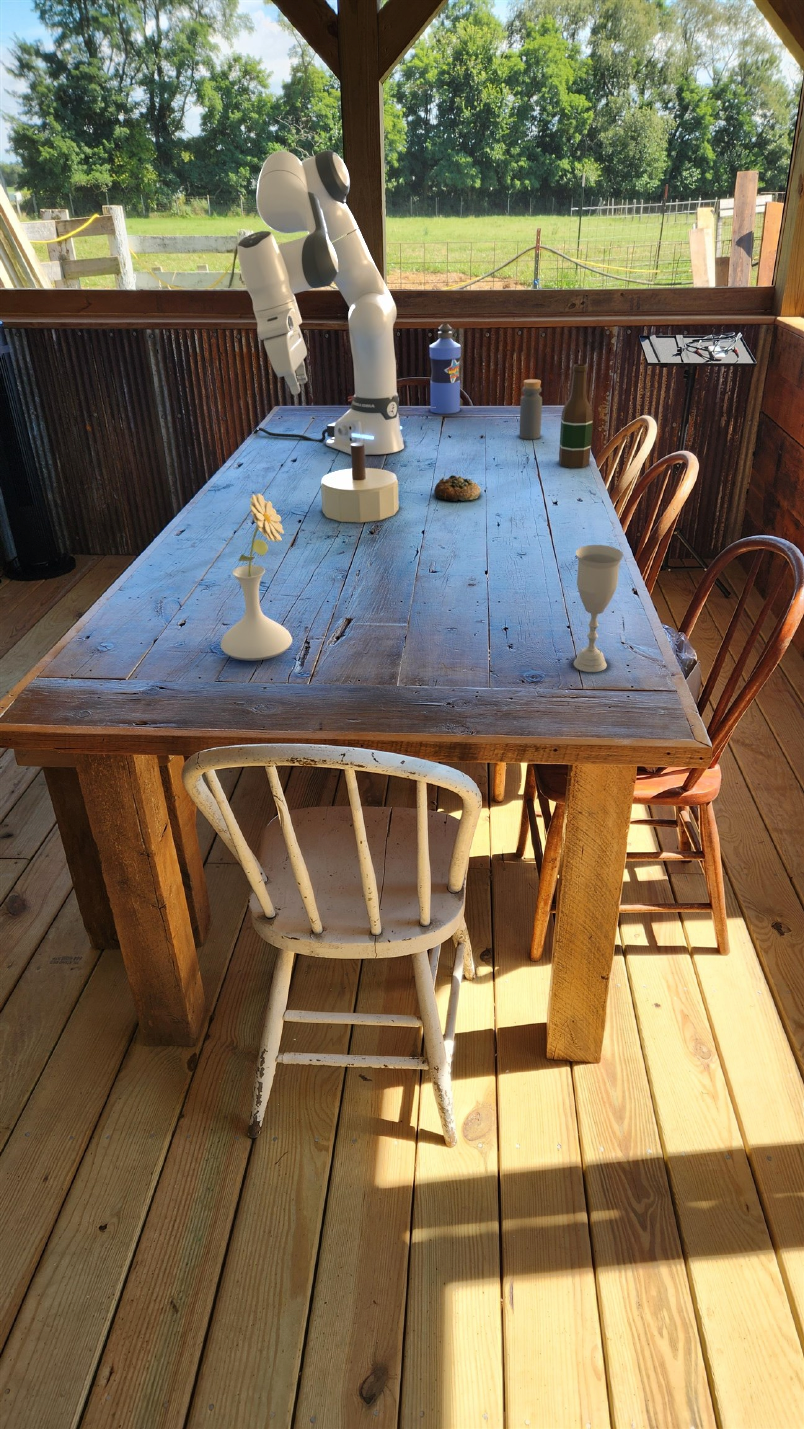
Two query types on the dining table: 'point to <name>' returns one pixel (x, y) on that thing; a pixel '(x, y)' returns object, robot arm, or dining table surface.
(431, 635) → the dining table surface
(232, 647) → the flower in vase
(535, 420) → the bottle
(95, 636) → the dining table surface
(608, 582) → the chalice
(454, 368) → the water bottle
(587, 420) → the beer bottle
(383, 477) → the lid
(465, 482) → the bread roll
